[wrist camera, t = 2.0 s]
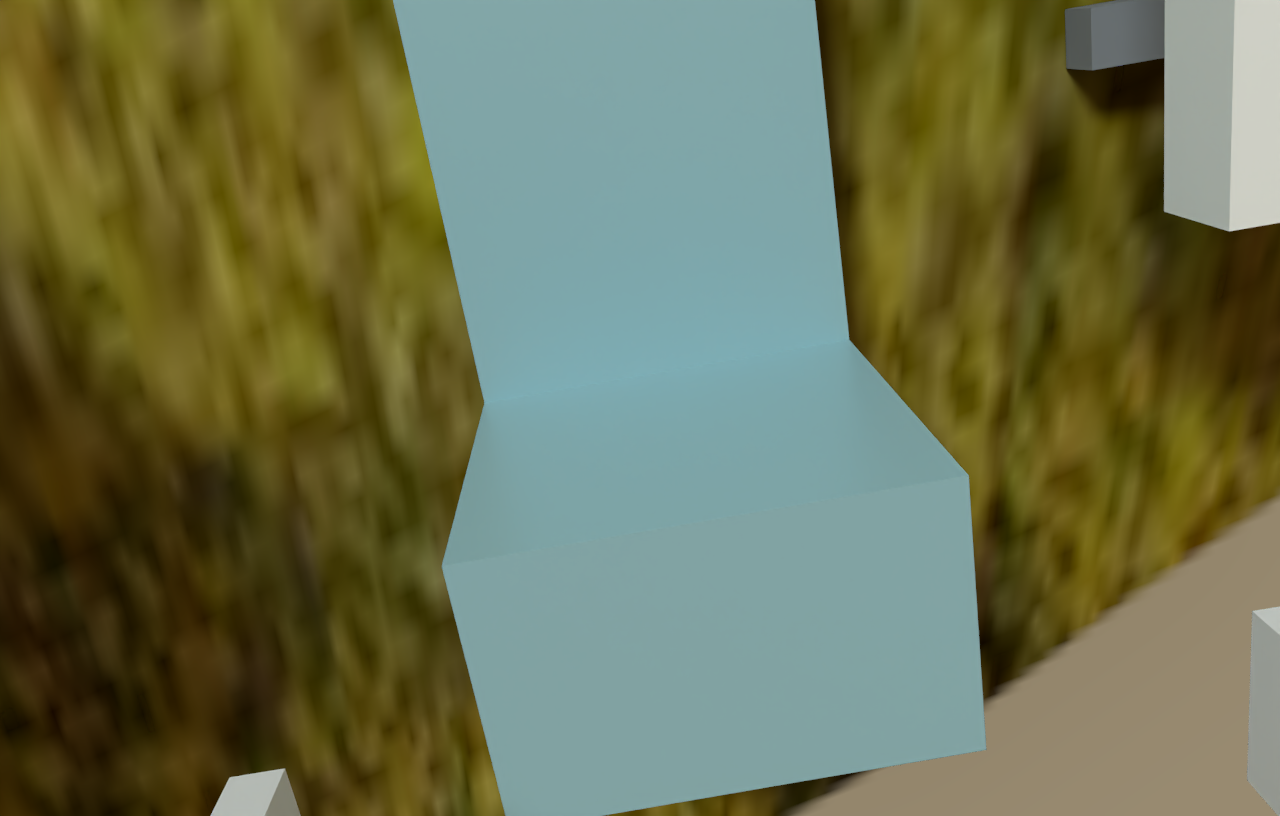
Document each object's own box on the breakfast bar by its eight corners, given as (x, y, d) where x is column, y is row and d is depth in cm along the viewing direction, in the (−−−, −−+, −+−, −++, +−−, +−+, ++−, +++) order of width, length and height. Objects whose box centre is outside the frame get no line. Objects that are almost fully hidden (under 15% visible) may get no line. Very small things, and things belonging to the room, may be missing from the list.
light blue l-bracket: (854, 516, 26) (986, 749, 18) (532, 572, 26) (509, 831, 18) (728, -675, 18) (854, -1286, 10) (271, -594, 18) (7, -1132, 10)
